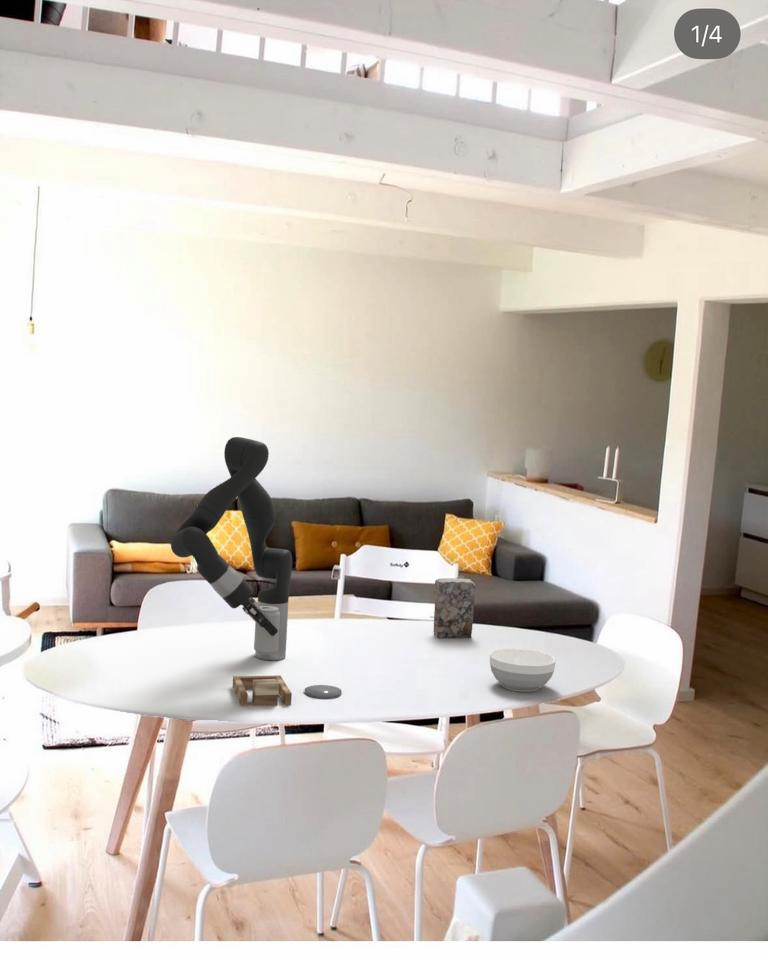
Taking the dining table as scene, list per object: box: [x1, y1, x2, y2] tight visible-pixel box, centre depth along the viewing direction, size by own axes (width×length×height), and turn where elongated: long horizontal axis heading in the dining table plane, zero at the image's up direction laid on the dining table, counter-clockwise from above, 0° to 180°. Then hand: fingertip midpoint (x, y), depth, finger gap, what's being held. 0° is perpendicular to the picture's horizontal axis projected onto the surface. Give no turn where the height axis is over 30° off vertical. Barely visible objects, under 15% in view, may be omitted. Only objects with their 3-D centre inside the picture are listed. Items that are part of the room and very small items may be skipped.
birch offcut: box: [252, 679, 279, 696], centre depth 264 cm, size 4×6×3 cm, turn 110°
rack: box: [232, 674, 293, 707], centre depth 271 cm, size 17×13×3 cm
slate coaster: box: [304, 684, 343, 700], centre depth 277 cm, size 10×10×1 cm
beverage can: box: [253, 606, 280, 654], centre depth 273 cm, size 6×6×12 cm
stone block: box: [433, 577, 477, 639], centre depth 351 cm, size 13×7×20 cm, turn 109°
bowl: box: [489, 648, 557, 693], centre depth 294 cm, size 19×19×9 cm
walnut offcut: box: [251, 691, 279, 707], centre depth 265 cm, size 4×6×3 cm, turn 105°
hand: (273, 630), depth 273 cm, fingers closed on beverage can, 6 cm apart
